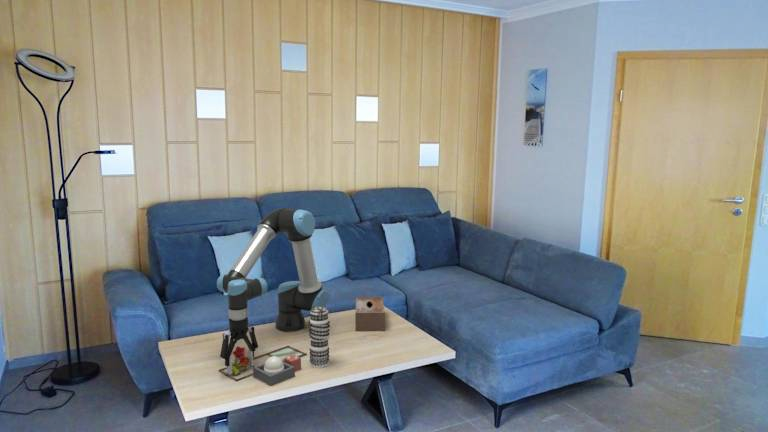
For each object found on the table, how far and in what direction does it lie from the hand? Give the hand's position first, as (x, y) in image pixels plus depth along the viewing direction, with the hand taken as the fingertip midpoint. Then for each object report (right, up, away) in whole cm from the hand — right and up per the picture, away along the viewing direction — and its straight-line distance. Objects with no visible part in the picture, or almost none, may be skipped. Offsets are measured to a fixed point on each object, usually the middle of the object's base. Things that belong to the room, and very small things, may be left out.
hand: (240, 368), depth 230 cm
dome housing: (+17, -2, -2) cm, 17 cm away
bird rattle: (0, -1, 0) cm, 1 cm away
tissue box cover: (+52, +8, +59) cm, 80 cm away
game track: (+8, 0, +9) cm, 12 cm away
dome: (+15, -1, -4) cm, 16 cm away
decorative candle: (+32, 0, +8) cm, 33 cm away
